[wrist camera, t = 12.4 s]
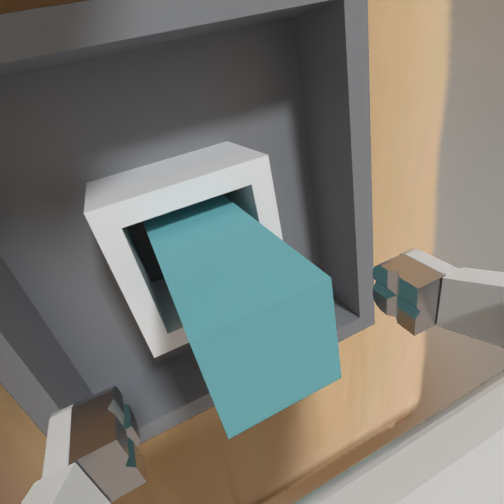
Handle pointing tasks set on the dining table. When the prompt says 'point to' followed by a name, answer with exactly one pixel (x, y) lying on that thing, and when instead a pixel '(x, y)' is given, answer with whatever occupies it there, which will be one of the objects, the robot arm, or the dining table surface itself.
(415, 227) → the dining table surface
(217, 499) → the dining table surface
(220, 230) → the connector peg
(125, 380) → the inlet box
